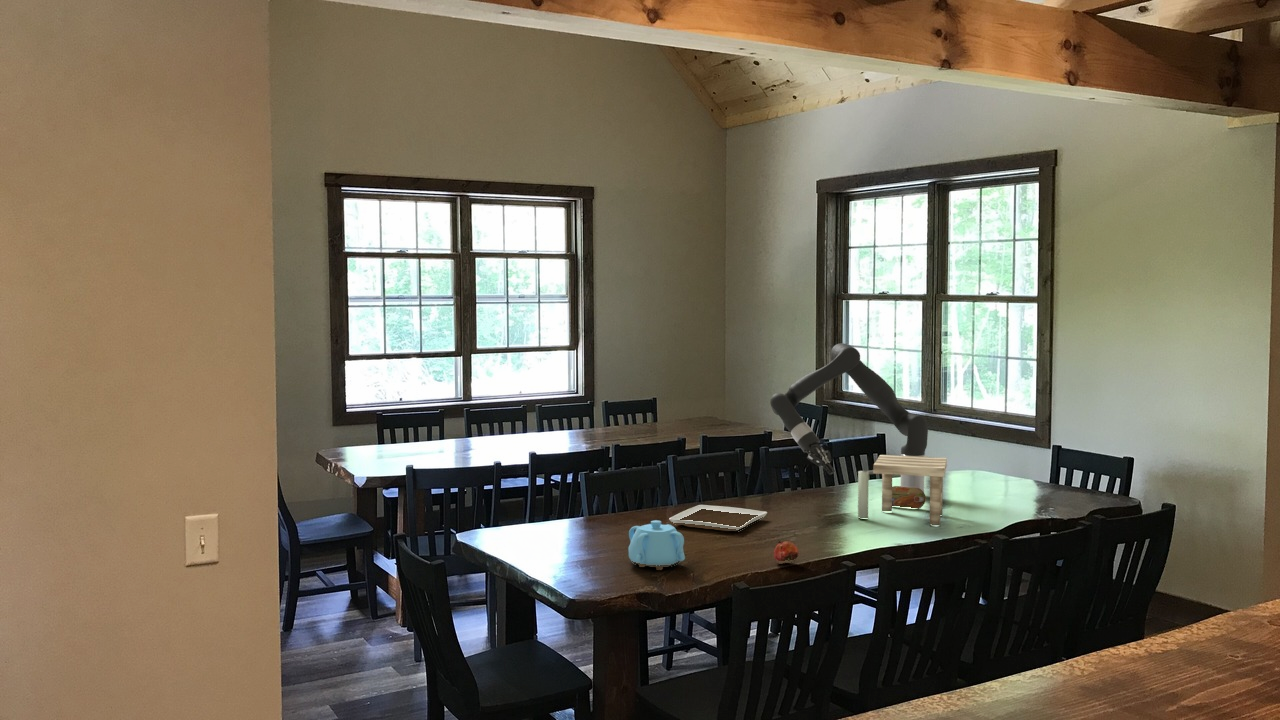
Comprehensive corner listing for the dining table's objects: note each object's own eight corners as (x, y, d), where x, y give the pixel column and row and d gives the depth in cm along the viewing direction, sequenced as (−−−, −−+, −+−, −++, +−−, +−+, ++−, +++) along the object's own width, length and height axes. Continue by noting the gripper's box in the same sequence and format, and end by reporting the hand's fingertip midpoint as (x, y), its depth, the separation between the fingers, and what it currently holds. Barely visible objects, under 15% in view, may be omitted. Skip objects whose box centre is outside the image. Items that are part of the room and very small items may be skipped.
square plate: (667, 528, 360) (667, 517, 360) (699, 513, 384) (700, 503, 384) (739, 536, 347) (739, 525, 347) (768, 520, 372) (768, 510, 371)
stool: (879, 510, 387) (880, 454, 386) (945, 514, 380) (946, 457, 378) (872, 523, 364) (873, 464, 363) (943, 528, 357) (944, 468, 355)
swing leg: (884, 514, 378) (884, 468, 377) (890, 516, 375) (891, 469, 374) (855, 518, 372) (856, 471, 371) (862, 520, 369) (862, 472, 368)
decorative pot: (630, 573, 301) (630, 527, 300) (627, 559, 317) (627, 515, 316) (686, 572, 302) (686, 526, 301) (679, 558, 318) (679, 514, 317)
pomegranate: (802, 572, 309) (791, 546, 316) (805, 557, 304) (794, 531, 311) (778, 576, 308) (768, 550, 315) (781, 561, 303) (770, 535, 310)
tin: (884, 507, 393) (884, 485, 392) (886, 505, 396) (886, 484, 395) (924, 511, 386) (924, 488, 385) (926, 509, 389) (926, 487, 388)
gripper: (800, 432, 383) (828, 469, 375) (820, 429, 393) (848, 464, 385) (789, 445, 387) (816, 481, 379) (809, 441, 397) (836, 477, 389)
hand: (832, 473), depth 382 cm, fingers closed
